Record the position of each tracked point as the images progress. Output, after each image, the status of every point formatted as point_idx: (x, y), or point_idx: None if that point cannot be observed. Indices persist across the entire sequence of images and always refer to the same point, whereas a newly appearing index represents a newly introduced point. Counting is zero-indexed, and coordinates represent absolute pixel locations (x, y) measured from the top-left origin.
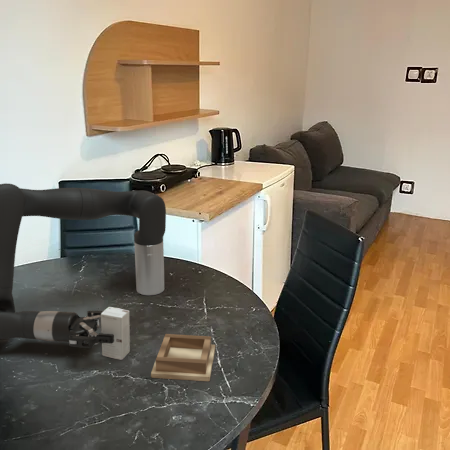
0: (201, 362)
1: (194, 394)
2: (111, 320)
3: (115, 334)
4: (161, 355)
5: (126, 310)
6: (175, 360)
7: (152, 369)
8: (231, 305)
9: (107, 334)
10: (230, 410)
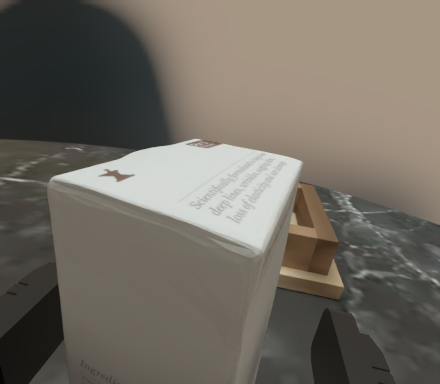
0: (312, 188)
1: (361, 236)
2: (279, 236)
3: (268, 317)
4: (307, 230)
5: (193, 140)
6: (321, 213)
7: (322, 282)
8: (34, 157)
9: (352, 344)
10: (375, 211)
